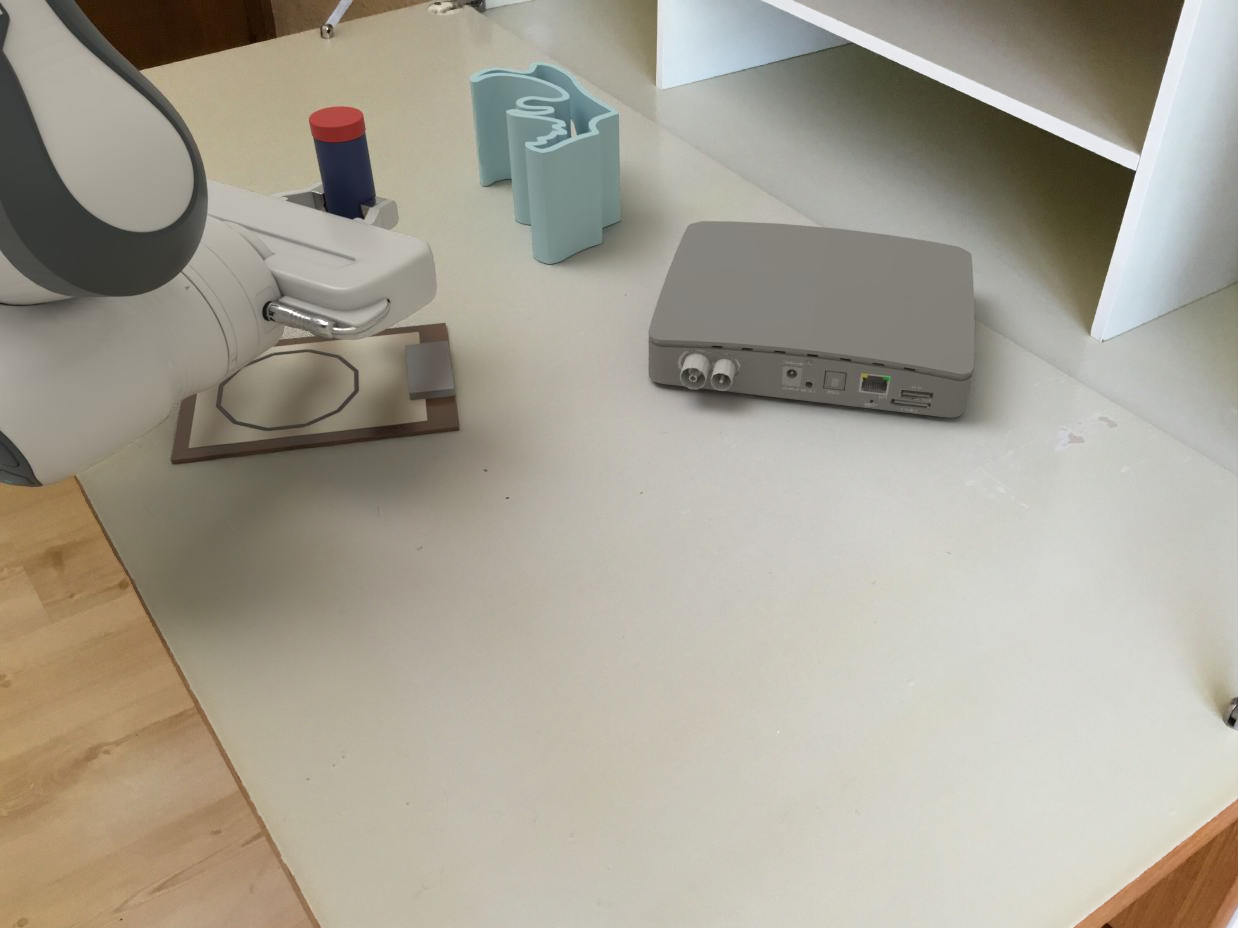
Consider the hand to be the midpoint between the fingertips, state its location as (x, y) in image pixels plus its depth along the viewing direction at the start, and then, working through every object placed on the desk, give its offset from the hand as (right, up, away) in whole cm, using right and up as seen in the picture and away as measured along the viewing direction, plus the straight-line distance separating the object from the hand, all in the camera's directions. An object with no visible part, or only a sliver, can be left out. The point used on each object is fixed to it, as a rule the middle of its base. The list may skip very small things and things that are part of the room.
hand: (360, 200), depth 75 cm
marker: (-1, -6, +4) cm, 7 cm away
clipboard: (-4, -12, +3) cm, 13 cm away
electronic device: (+31, -8, +8) cm, 33 cm away
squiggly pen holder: (+10, +6, +24) cm, 27 cm away
